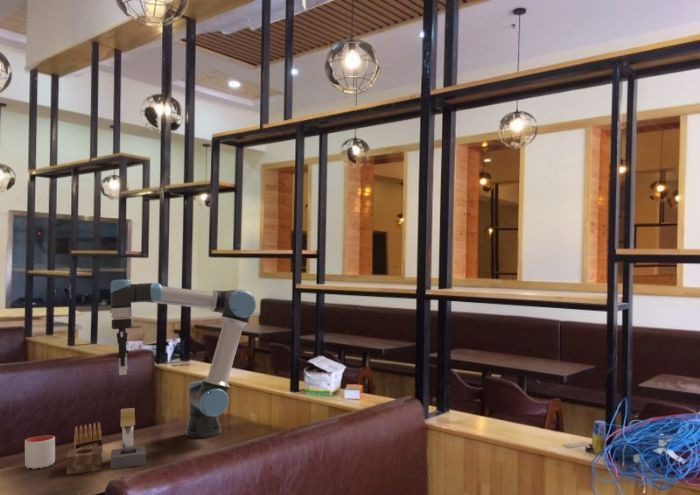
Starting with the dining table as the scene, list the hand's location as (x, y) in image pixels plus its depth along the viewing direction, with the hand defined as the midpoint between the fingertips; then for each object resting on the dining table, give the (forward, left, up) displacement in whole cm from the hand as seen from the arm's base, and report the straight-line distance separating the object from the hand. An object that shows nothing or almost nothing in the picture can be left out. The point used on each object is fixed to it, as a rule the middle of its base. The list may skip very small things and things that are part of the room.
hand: (123, 372), depth 240 cm
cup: (+30, +2, -32) cm, 44 cm away
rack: (+14, +13, -32) cm, 37 cm away
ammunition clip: (+14, -6, -32) cm, 35 cm away
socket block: (-1, +13, -32) cm, 34 cm away
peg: (-1, +13, -32) cm, 34 cm away
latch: (-1, +13, -17) cm, 22 cm away
